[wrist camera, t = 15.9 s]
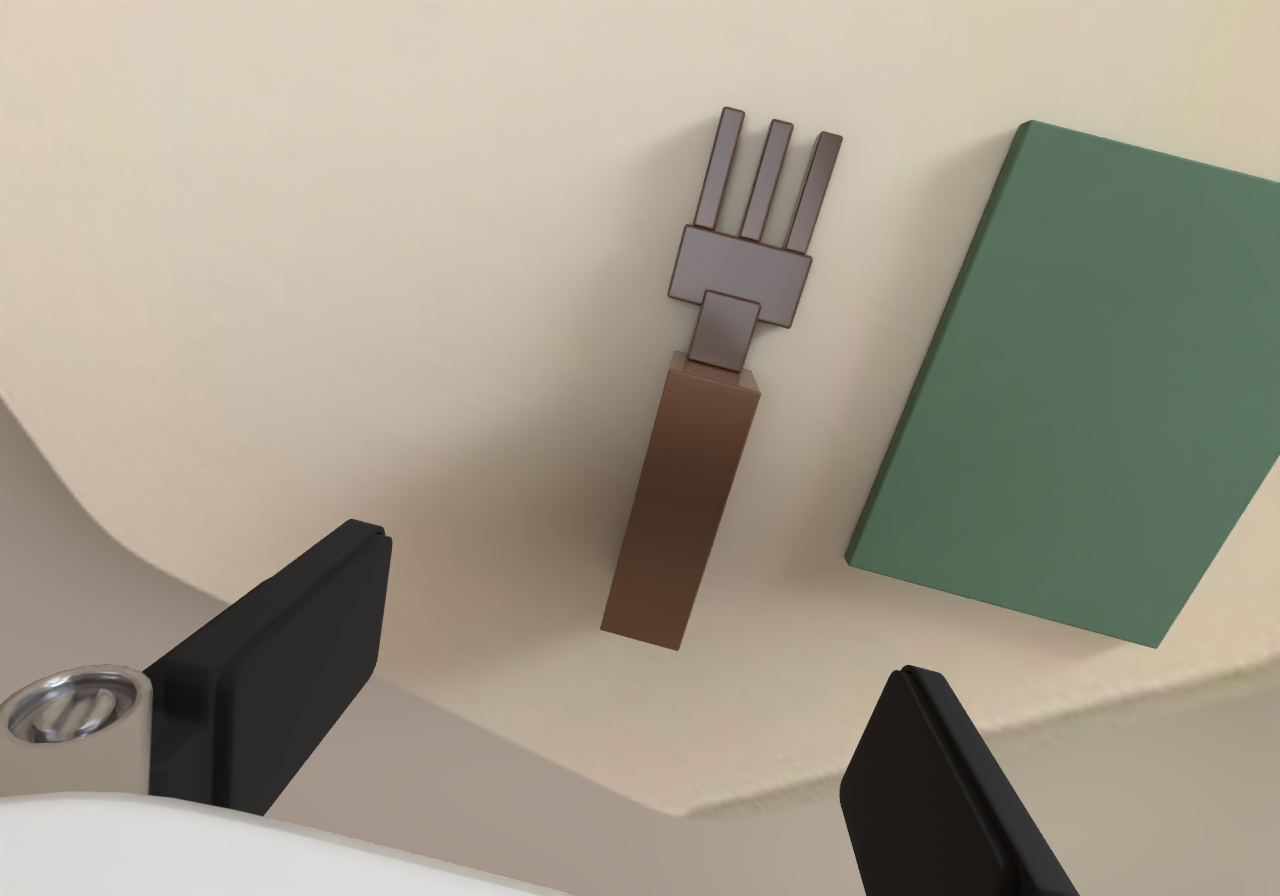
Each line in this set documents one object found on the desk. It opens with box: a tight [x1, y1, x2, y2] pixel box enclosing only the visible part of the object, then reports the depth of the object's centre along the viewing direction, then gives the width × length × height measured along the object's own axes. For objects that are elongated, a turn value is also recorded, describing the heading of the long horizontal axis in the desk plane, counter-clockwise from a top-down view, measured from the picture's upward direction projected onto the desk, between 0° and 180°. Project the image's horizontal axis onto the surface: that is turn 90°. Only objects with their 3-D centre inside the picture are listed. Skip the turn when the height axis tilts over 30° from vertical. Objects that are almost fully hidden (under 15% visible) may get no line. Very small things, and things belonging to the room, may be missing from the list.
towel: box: [845, 120, 1280, 649], centre depth 17 cm, size 13×10×1 cm
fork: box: [600, 107, 843, 651], centre depth 17 cm, size 14×4×3 cm, turn 166°
